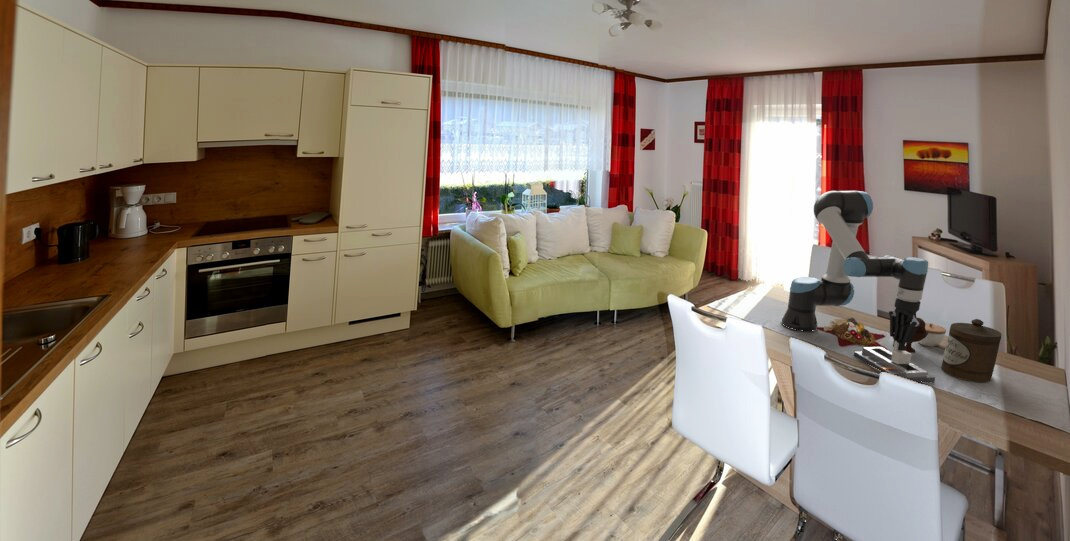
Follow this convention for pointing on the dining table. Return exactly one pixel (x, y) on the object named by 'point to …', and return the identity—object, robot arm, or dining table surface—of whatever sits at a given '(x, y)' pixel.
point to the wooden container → (971, 351)
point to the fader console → (892, 364)
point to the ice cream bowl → (917, 336)
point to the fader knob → (901, 358)
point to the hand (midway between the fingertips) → (896, 356)
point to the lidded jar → (933, 335)
